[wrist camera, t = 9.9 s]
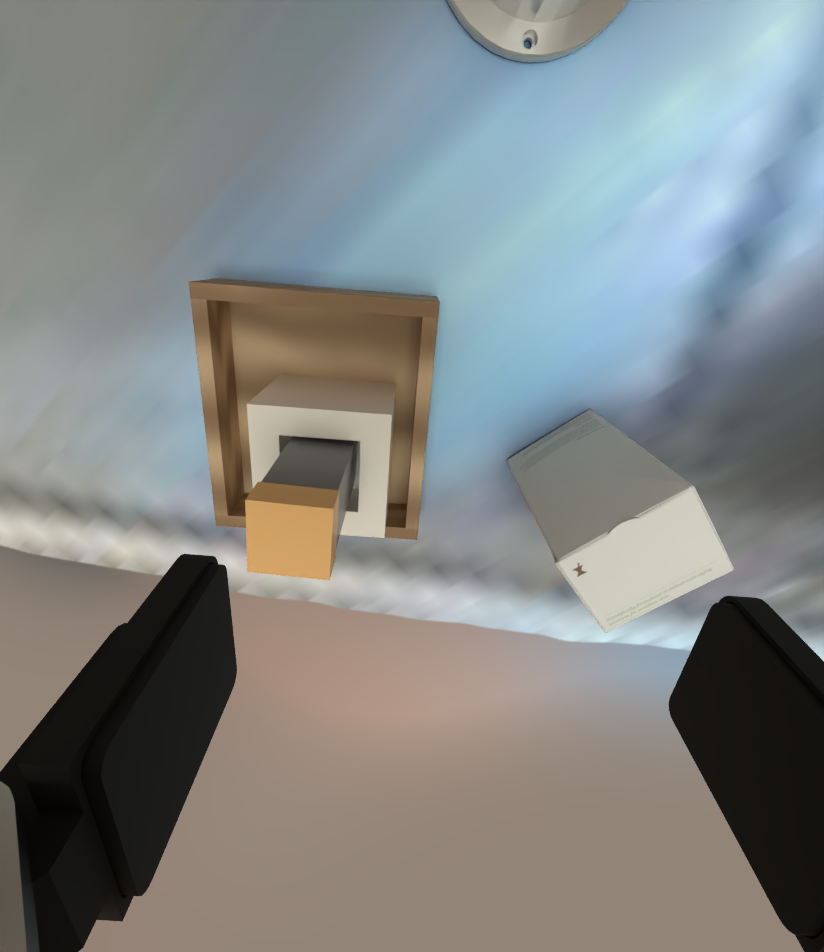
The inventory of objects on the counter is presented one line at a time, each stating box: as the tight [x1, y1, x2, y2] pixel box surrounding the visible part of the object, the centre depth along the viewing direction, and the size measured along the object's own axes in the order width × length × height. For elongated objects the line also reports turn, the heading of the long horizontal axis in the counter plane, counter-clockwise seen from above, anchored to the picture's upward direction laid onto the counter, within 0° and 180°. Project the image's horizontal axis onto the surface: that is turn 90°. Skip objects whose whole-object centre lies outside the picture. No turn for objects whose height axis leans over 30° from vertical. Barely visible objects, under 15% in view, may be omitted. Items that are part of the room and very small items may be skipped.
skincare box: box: [507, 409, 734, 633], centre depth 33 cm, size 8×7×16 cm
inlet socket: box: [247, 375, 397, 538], centre depth 35 cm, size 9×9×8 cm
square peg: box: [245, 436, 358, 580], centre depth 29 cm, size 4×4×12 cm
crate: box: [189, 279, 439, 540], centre depth 36 cm, size 18×16×5 cm
